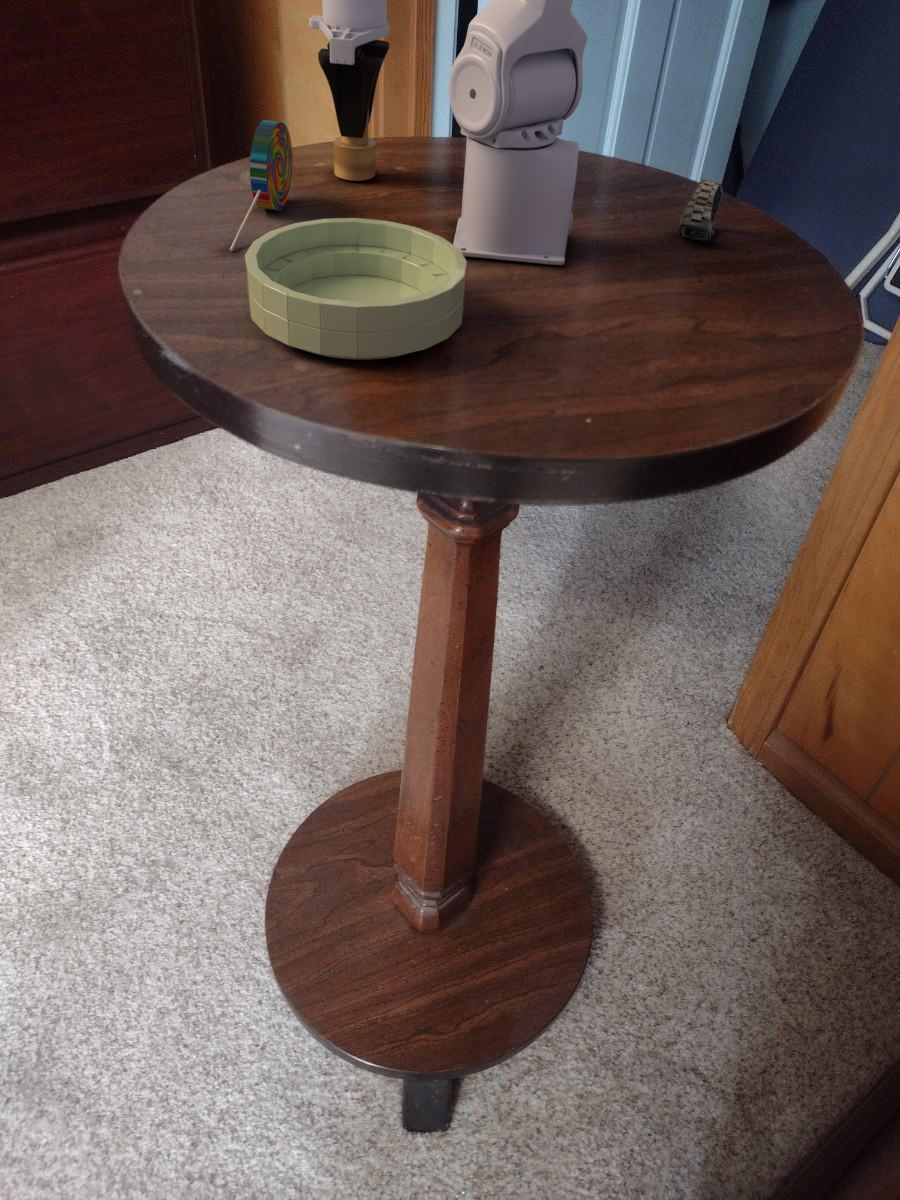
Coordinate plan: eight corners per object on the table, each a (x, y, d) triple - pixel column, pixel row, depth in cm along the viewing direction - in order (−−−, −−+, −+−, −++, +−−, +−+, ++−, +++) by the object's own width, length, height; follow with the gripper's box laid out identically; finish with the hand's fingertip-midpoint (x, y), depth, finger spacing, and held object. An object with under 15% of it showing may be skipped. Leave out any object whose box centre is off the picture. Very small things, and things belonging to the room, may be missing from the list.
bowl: (468, 284, 78) (473, 228, 75) (453, 378, 66) (458, 316, 63) (275, 266, 78) (272, 209, 75) (226, 356, 66) (220, 293, 63)
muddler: (377, 169, 96) (379, 80, 91) (372, 182, 93) (373, 91, 88) (337, 165, 97) (336, 77, 91) (331, 178, 94) (329, 87, 88)
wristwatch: (677, 247, 90) (678, 219, 85) (702, 199, 90) (705, 168, 86) (708, 259, 89) (710, 231, 85) (733, 211, 90) (737, 180, 85)
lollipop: (230, 284, 82) (281, 176, 90) (246, 286, 82) (296, 178, 90) (213, 211, 76) (269, 103, 84) (231, 214, 76) (285, 105, 84)
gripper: (323, -54, 89) (326, 106, 98) (291, -28, 78) (298, 150, 87) (399, -47, 89) (395, 113, 98) (378, -20, 78) (376, 157, 87)
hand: (354, 131), depth 92 cm, fingers closed on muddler, 2 cm apart
